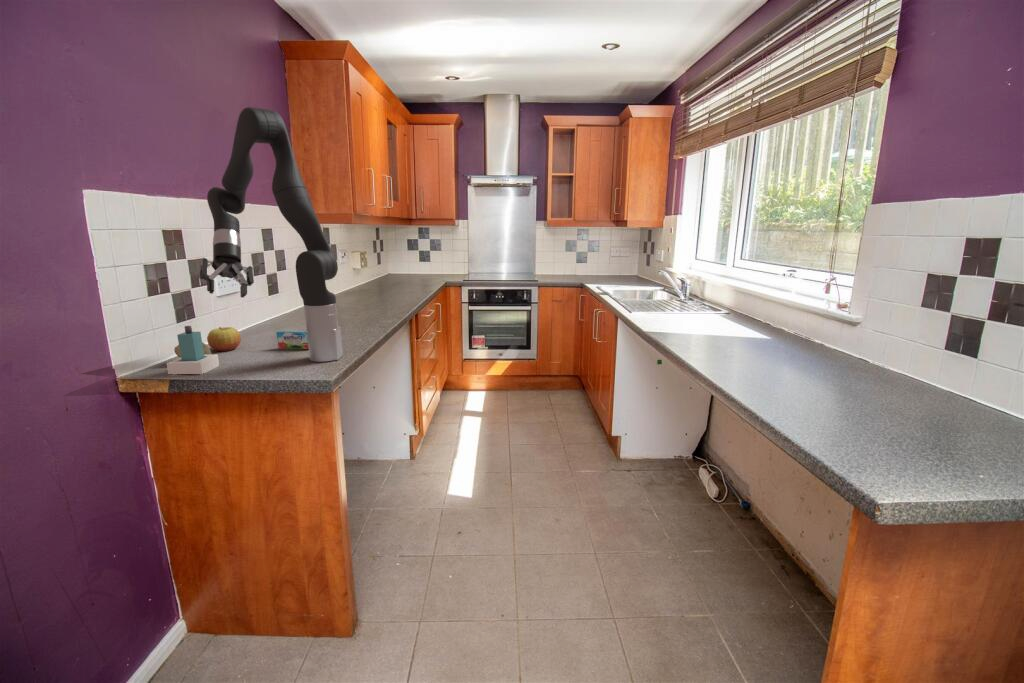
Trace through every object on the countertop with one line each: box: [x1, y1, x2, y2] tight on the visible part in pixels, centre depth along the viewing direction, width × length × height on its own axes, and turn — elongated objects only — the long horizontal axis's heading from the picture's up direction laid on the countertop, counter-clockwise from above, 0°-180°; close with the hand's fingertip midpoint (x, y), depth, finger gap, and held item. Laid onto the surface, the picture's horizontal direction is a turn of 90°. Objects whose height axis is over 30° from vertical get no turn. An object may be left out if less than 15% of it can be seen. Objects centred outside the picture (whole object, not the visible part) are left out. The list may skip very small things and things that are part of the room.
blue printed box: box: [276, 330, 309, 350], centre depth 159 cm, size 12×2×6 cm, turn 83°
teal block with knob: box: [176, 325, 205, 361], centre depth 134 cm, size 4×4×13 cm
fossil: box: [173, 341, 212, 358], centre depth 145 cm, size 9×4×10 cm
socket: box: [166, 353, 220, 375], centre depth 135 cm, size 9×9×4 cm
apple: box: [206, 326, 242, 352], centre depth 159 cm, size 10×10×8 cm
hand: (227, 294), depth 145 cm, fingers open, 8 cm apart
